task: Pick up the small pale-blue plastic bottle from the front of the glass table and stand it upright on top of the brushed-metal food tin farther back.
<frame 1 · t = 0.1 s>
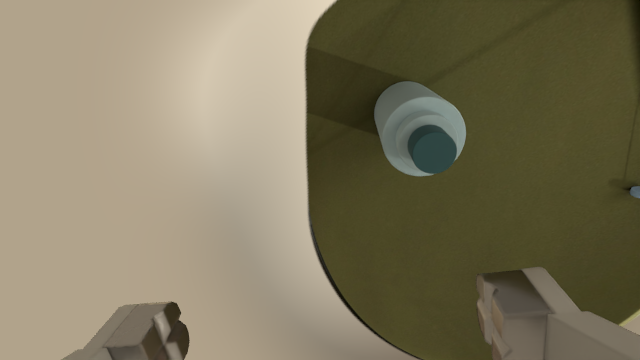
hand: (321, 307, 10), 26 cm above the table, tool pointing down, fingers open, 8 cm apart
bottle: (405, 112, 33), on the table
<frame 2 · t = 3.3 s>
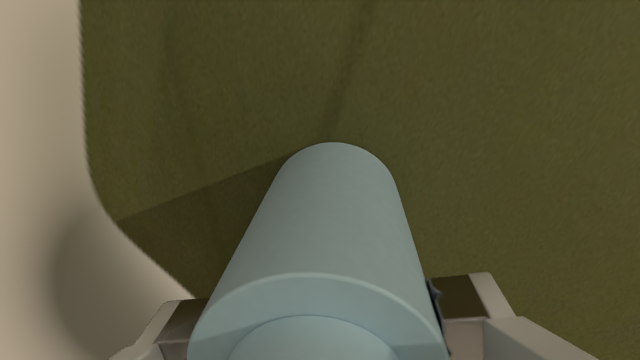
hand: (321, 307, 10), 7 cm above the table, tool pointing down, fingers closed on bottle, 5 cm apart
bottle: (333, 203, 16), on the table, touching gripper
when the fingers open (15 cm above the table, at t = 10.9 s): bottle stays where it is, resting on tin.
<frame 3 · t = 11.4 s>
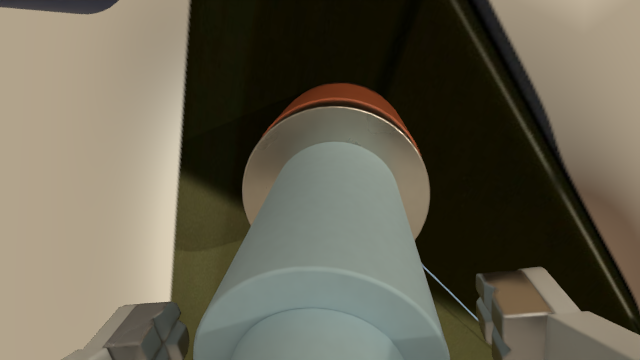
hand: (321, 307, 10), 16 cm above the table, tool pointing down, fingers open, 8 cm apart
tin: (340, 145, 24), on the table, touching bottle
bottle: (335, 201, 16), point 9 cm above the table, touching tin
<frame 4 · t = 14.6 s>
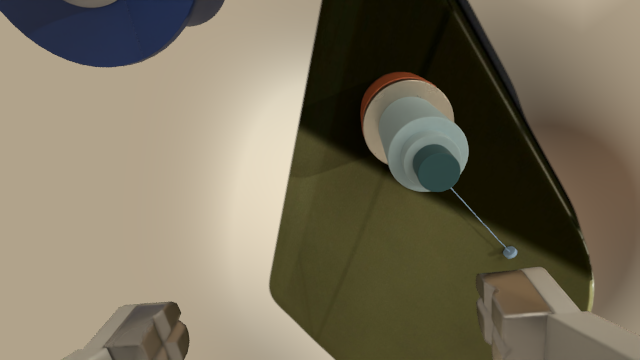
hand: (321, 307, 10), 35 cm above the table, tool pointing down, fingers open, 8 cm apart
tin: (396, 108, 42), on the table, touching bottle
bottle: (408, 126, 34), point 9 cm above the table, touching tin
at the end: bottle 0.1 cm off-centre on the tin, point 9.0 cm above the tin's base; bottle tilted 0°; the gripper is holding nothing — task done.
